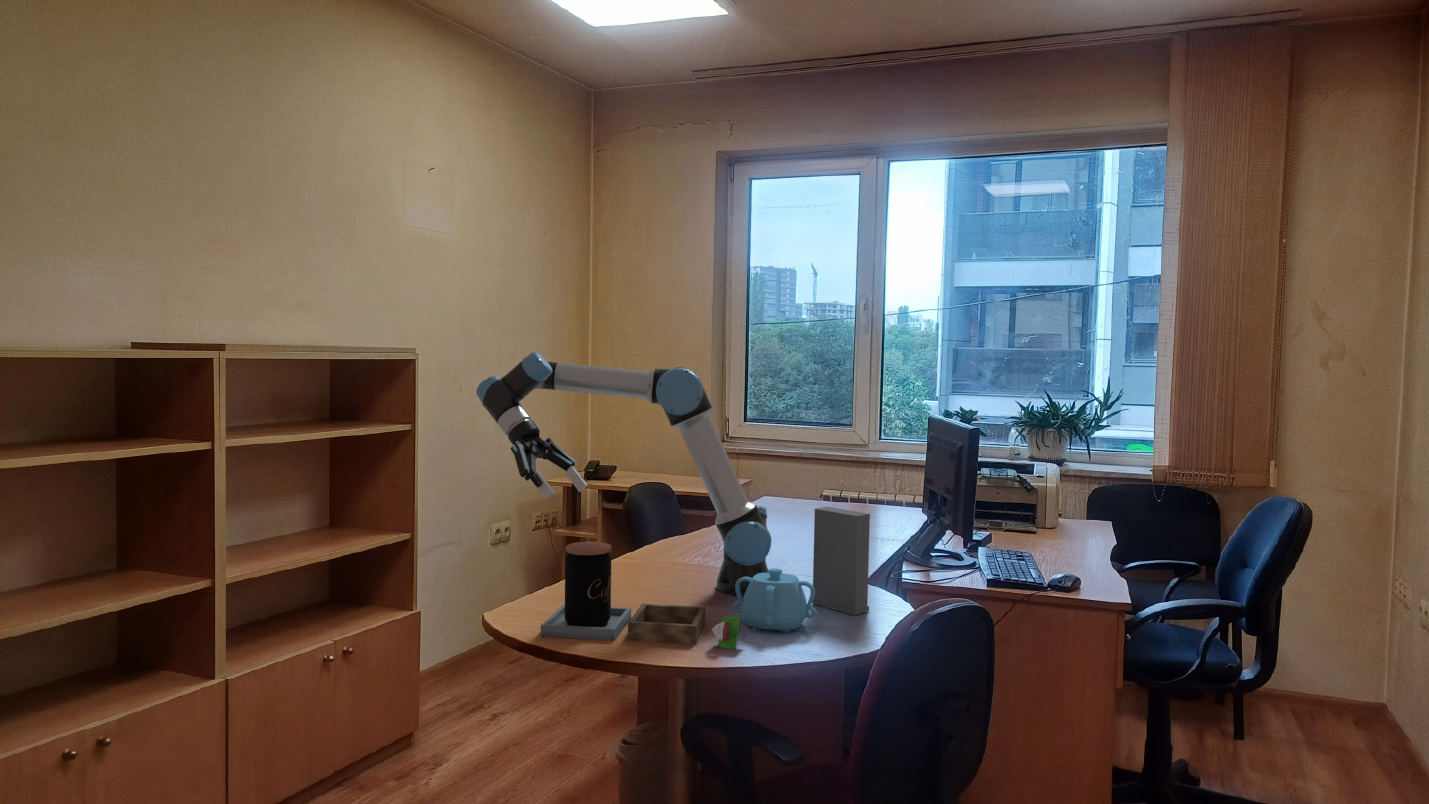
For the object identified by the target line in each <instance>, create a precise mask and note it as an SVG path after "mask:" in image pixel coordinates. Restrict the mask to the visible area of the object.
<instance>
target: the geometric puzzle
mask: <svg viewBox="0 0 1429 804" xmlns="http://www.w3.org/2000/svg"><path fill="white" fill-rule="evenodd" d="M720 619H721V621H720V622H719V623H717V622H716V624H715V625H714V626H713V627H712V628H711V629H710V630H711V632H712V634H713V636H714V637H716V638H717V639H718V641H715V642H716V644H717V647H718V648H722V649H723V648H724V649H729V650H735V651H736V650H737V648H738V646H740V644H741V643H739V640H741V638H740V637H741V635H742V636H743V638H746V636H748V635H747V633H746V632H745V631H743V630H741V627H740V623H741V617H734V616H727V615H722V616H721V618H719V620H720ZM743 629H745V628H744V626H743ZM739 631H740V632H739ZM741 632H742V633H741ZM738 635H739V636H738ZM742 641H744V639H742ZM742 641H741V642H742ZM738 643H739V645H738Z"/></svg>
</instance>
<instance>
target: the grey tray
mask: <svg viewBox="0 0 1429 804" xmlns="http://www.w3.org/2000/svg"><path fill="white" fill-rule="evenodd" d="M631 618H632V607H619V606H618V607H614V606H611V618H610V620H609V621H608V623H607V624H606V625H605V626H602V627H584V626H569V625H568V624H567V622H566V621H565V604H562V605H561V606H559V608H558V609H556V611H554V613H552V614H551V615H550V616H549V617H548V618H547V619H546V620H545V621H544V622H543V623H542V624H540V637H542V636H548V637H547V638H564V639H577V640H578V639H579V640H581V639H582V640H593V641H594V640H597V641H598V640H599V641H612V642H613V641H614V642H615V641H616V640H617V638H618V637H619V636H620V635H621V633H622V632H623V630H624V629H625V628H626V626H628V622H629V621H630V619H631Z"/></svg>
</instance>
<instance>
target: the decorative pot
mask: <svg viewBox="0 0 1429 804" xmlns="http://www.w3.org/2000/svg"><path fill="white" fill-rule="evenodd" d="M768 571H769V573H758V574H756V575H755V576H754V577H753V578H750V577H742V578H740V579H739V580H738V581H737V582H736V584H735V590H736V594H737V595H736V598H737V599H738V600H735V601H734V603H733V604H732V608H733V610H734V611H735V612H737V613H740V614H741V617H742V619H743V620H744V622H745V624H746V625H748V626H750V627H753V628H752V629H753V630H754V631H764V630H765V629H766V630H779V632H780V633H786V634H787V633H791V632H792V630H796V629H798V628H799V627H801V626H802V624H803V623H804V621H805V620H806V618H807V619H813V618H815V617H816V616H817V614H818V613H817V609H816V608H815V607H813V606H812V605H813V604H812V602H813V599H814V596H815V588H814V586H813V583H811V582H809V581H808V580H801V581H800V579H799V578H798V577H797V576H796V575H794V574H788V573H783V570H782V569H780V568H776V567H775V568H773V567H772V568H769V569H768ZM743 581H748V582H750V584H749V586H748V588H747V590H746V592H745V595H742V594H741V591H740V583H741V582H743ZM803 586H804V587H806V588H808V589H810V593H809V594H810V595H809V599H808V601H807V598H806V594H805V591H804V589H803ZM738 605H739V606H738ZM810 611H812V613H810Z"/></svg>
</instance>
